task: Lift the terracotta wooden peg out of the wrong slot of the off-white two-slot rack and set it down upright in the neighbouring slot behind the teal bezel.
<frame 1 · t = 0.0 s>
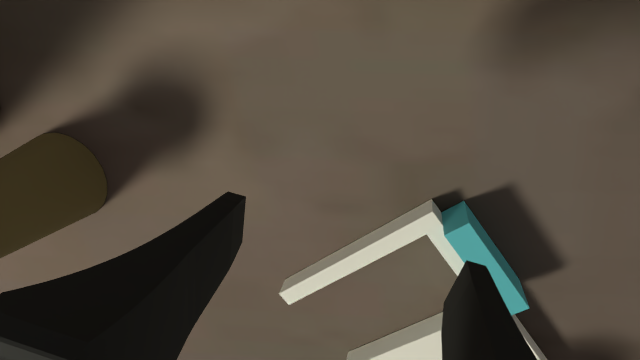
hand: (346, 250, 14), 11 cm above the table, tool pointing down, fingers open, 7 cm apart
slot rack: (422, 341, 28), on the table
olive yellow shaker: (68, 174, 28), on the table
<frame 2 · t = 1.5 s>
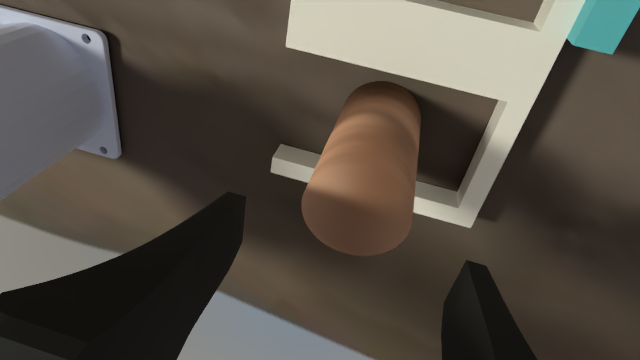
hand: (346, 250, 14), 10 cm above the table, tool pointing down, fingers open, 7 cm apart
peg: (380, 119, 22), resting in slot rack
slot rack: (405, 30, 19), on the table
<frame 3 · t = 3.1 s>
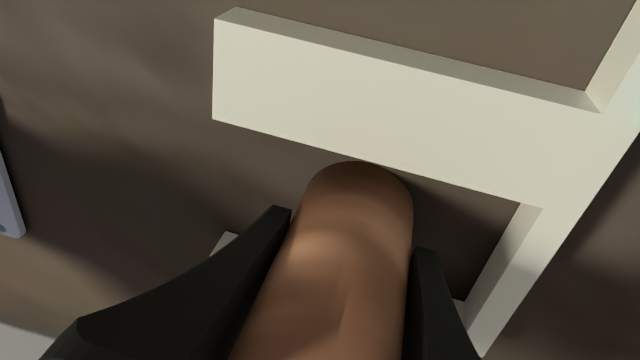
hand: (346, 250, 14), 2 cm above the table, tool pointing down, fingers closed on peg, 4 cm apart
peg: (357, 208, 15), resting in slot rack, touching gripper
slot rack: (389, 95, 13), on the table
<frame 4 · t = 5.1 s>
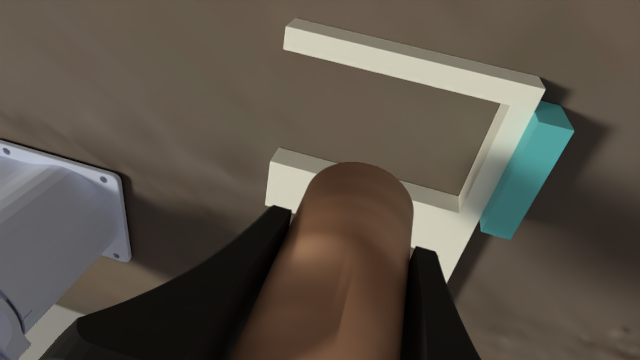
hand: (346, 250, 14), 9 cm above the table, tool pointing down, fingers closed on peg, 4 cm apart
peg: (357, 209, 15), point 7 cm above the table, touching gripper
slot rack: (360, 193, 24), on the table
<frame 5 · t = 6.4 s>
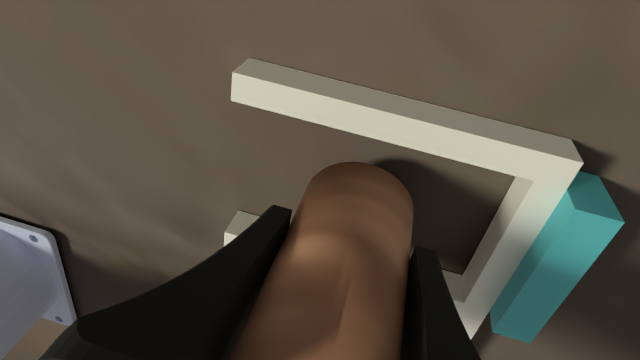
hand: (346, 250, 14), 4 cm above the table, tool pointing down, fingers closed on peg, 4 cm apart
peg: (357, 208, 15), point 1 cm above the table, touching gripper
slot rack: (340, 265, 19), on the table
when the fingers open (3 cm above the table, at t = 7.4 s): peg stays where it is, resting in slot rack.
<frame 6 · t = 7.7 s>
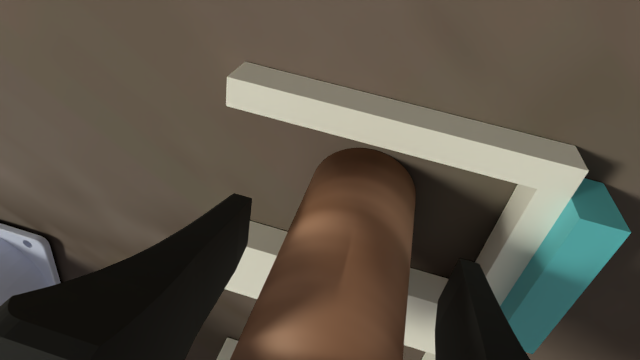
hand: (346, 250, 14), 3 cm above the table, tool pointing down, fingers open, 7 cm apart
peg: (362, 193, 16), resting in slot rack
slot rack: (339, 272, 19), on the table
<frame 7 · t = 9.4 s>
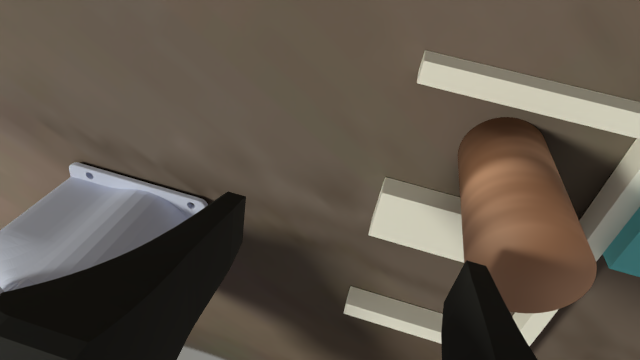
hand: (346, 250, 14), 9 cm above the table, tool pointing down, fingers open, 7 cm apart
peg: (500, 155, 21), resting in slot rack
slot rack: (467, 223, 23), on the table
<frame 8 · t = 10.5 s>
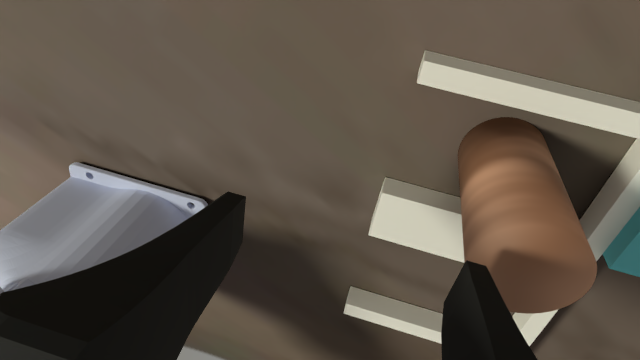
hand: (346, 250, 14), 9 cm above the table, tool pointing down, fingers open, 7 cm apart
peg: (500, 155, 21), resting in slot rack
slot rack: (467, 223, 23), on the table
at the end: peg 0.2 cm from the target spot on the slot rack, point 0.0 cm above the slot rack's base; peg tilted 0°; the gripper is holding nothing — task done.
